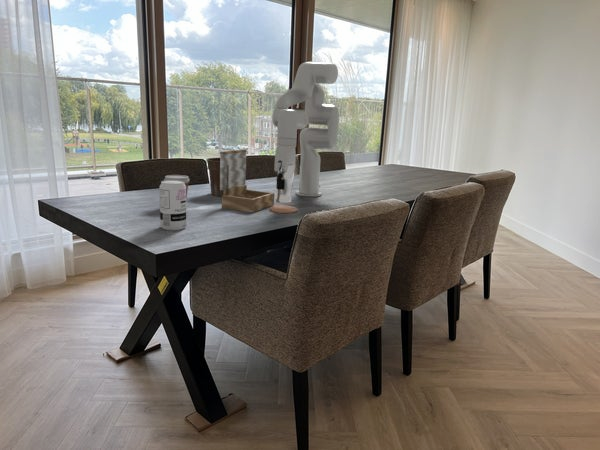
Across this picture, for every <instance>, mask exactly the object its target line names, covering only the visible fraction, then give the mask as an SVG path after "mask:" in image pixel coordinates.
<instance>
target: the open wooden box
mask: <svg viewBox="0 0 600 450" xmlns="http://www.w3.org/2000/svg"><path fill="white" fill-rule="evenodd" d="M247 152H248V151H247V149H244V148H243V149H242V148H241V149H233V150H222V151H219V158H220V190H224V189H225V190H224V192H223V195H222V196H221V208H223V209H229V210H234V211H235V210H236V211H242V212H247V213H248V212H249V213H254V212H257V211H260V210H263V209H266V208H268V207H269V208H270V207H272V206H275V192H268V191H262V190H255V189H254V190H253V189H247V186H248V185H247V184H246V183H247V182H246V181H247V180H246V178H247V175H246V174H247V173H246V172H247ZM237 186H238V187H237ZM233 187H234V188H233Z"/></svg>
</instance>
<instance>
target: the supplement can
mask: <svg viewBox="0 0 600 450" xmlns="http://www.w3.org/2000/svg"><path fill="white" fill-rule="evenodd" d="M160 182H161V183H160V185H159V217H160V218H159V220H160V221H159V222H160V227H161V229H163V230H166V231H181V230H184V229H185V227H187V225H188V224H187V199H186V185H185V184H184V182H183V181H178V180H166V181H164V180H162V181H160Z"/></svg>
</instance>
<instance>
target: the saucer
mask: <svg viewBox="0 0 600 450" xmlns="http://www.w3.org/2000/svg"><path fill="white" fill-rule="evenodd" d="M269 210H270V212H272V213H277V214H294V213H297V212H298V207H296V206H291V205H280V204H279V205H272V206H269Z"/></svg>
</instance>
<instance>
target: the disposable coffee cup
mask: <svg viewBox="0 0 600 450" xmlns="http://www.w3.org/2000/svg"><path fill="white" fill-rule="evenodd" d="M166 180H178V181H183V182H184V184H185V185H186V200H187V197H188V189H189V183H190V178H189V176H188V175H181V174H168V175H165V177H164V179H163V181H166Z"/></svg>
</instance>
